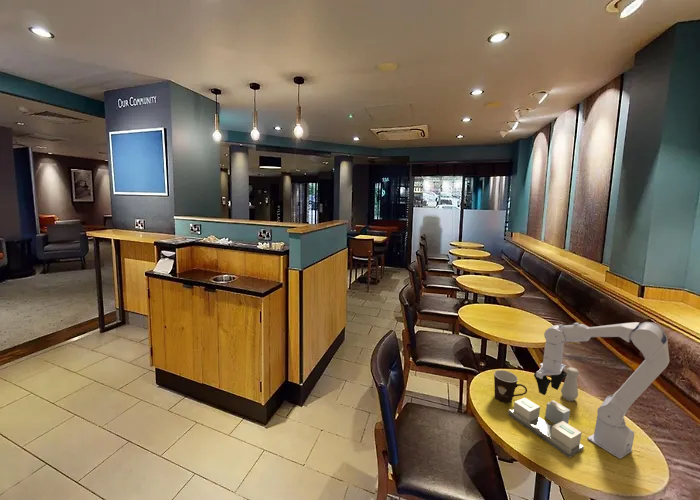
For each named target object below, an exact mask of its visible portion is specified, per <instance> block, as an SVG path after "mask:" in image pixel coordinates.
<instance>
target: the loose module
mask: <svg viewBox="0 0 700 500" xmlns="http://www.w3.org/2000/svg"><path fill="white" fill-rule="evenodd" d="M570 413H571V409H570V408H567V407H566V406H564V405H562V404H561V403H559V402H557V401H556V400H551V401H549V402H547V403H546V408H545V414H544V418H545V419H546V420H548V421H550V422H551V423H553V425H555V424H557V423H559V422H561V421H564V422H566V423H567V424H569V421H570Z"/></svg>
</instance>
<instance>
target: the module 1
mask: <svg viewBox="0 0 700 500" xmlns="http://www.w3.org/2000/svg"><path fill="white" fill-rule="evenodd" d="M512 410H513V411H514V412H515V413H517V414H518V415H520V416H521V417H523V418H524V419H526V420H527V421H529V422H531V421H533V420H535V419H537V418H539V417H540V410H541V406H540V405H538V404H536V403H535V402H533V401H531V400H530V399H528V398H527V397H522V398H520V399H518V400H515V401H514V403H513V409H512Z"/></svg>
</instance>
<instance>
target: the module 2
mask: <svg viewBox="0 0 700 500" xmlns="http://www.w3.org/2000/svg"><path fill="white" fill-rule="evenodd" d="M582 433H583V432H582V431H580V430H579V429H576V428H575V427H574V426H571V424H569V423H568V424H567V423H566V422H564V421H561V422H559V423H557V424H553V425H552V430H551V437H552V438H553V439H555V440H556V441H558V442H559V443H561V444H562V445H564V446H565V447H567V448H568V449H570V450H571V449H573V448H575V447H576V446H578V445H580V444H581V438H582Z"/></svg>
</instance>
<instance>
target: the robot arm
mask: <svg viewBox="0 0 700 500" xmlns="http://www.w3.org/2000/svg"><path fill="white" fill-rule="evenodd" d="M543 335H544V339H545V344H544V350H543V359H542V362H541V363H539V366H540V368H539V370H537V371H536V372H534V374H533V377H534V378H535V381H536V383H537V388H538V393H540V394H541V395H543V396H546V395H547V391H548V388H549V385H551V386H550V387H551V388H553V389H555V390H556V391H558V389H559V388H560V386H561V384H562V383H563V380H565V379H566V376H567V373H566V366H567V365H566V364H564V363H563V356H564V345H565V342H566V343H578V342H588V341H590V340H591V338H615V337H616V338H617V337H618V338H621V339H622V340H624V341H626V343H630V342H632V343H633V345H634V346H635V347H636V348H637V349H638V350H639V351H640V352H641V353H642V356H643V357H644V360H643V361H642V362H641V363H640V364H639V366H638V367H637V368H636V369H635V370H634V371H633V373H632V374H631V375H630V376H629V377H628V378H627V379H626V381H625V382H624V383H623V384H621V386H620V387H619V388H618V390H616V391H615V392H614V394H611V395H608V396H606V397H605V398H604V399H603V401H602V404H601V405H600V406H599V407H598V408H597V410H596V412H597V413H596V414H597V416H596V420H595V421H596V422H595V426H594V432H593V434H591V435H589V436H588V437H587V440H589V441H590V442H592V443H594V444H595V445H597V446H598V447H600V448H602V449H603V450H605V451H606V452H608V453H609V454H610V455H612V456H614V457H615V458H618V460H621V459H622V458H624V457H626V456H628V455H629V454H630V453H631V452H633V444H634V440H635V431H633V430H632V429H631V428H629V426H627V425H626V421H625V416H626V414H627V413H628V411H629V408H630V407H631V406H632V405H633V403H635V401H636V400H637V399H638V398H639V397H640V396H641V395H642V394H643V393H644V392H645V391H646V390H647V389H648V388H649V387H650V385H651V384H653V382H654V381H655V380H656V379H657V378H658V377H659V376H660V375H661V374H662V372H663V371H664V370H665V369H666V368H667V367H668V365H669V363H670V352H669V344H668V339H669V338H668V336H667V334H666V332H665V331H664V329H663V328H662V327H661V326H660V325H658V324H656V323H655V322H652V321H651V322H649V321H645V322H642V323H641V322H637V321H635V322H624V323H623V322H622V323H615V324H614V323H613V324H606V325H599V326H598V325H597V326H588V325H586V324H584V323H579V322H574V323H572V324H568V325H567V324H566V325H564V324H555V325H554V324H553V325H551V326H550V327H549V328H547V329H546V330H545V331H544V333H543ZM547 376H550V378H551V379H549V378H548V377H547Z"/></svg>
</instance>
